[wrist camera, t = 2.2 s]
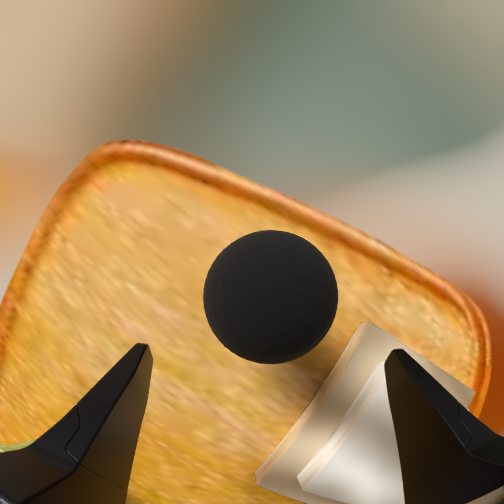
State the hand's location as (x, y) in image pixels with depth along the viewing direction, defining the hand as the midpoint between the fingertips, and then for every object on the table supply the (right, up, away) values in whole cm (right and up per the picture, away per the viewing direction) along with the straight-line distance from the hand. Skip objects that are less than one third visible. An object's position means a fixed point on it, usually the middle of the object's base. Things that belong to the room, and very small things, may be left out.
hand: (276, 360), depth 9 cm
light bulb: (0, 0, +10) cm, 10 cm away
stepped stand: (+9, -11, +8) cm, 16 cm away
